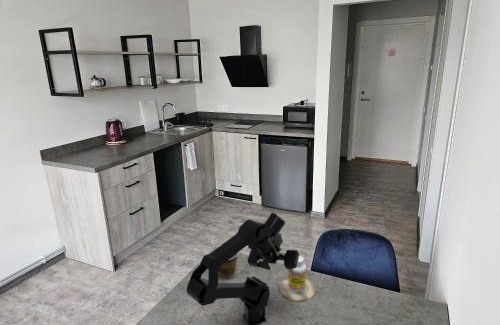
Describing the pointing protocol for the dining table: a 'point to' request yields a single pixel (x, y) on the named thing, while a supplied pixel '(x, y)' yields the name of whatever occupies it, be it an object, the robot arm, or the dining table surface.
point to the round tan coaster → (297, 296)
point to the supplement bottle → (298, 276)
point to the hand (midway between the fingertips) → (280, 269)
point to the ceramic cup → (228, 268)
